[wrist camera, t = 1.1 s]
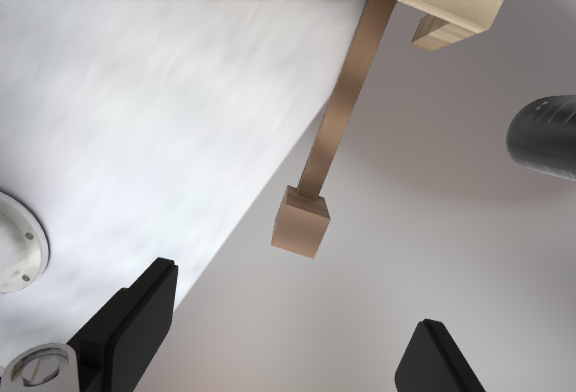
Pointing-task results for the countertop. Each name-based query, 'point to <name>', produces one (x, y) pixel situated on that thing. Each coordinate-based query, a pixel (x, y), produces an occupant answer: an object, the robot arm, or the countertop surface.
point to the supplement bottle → (545, 136)
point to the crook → (329, 140)
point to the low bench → (452, 20)
